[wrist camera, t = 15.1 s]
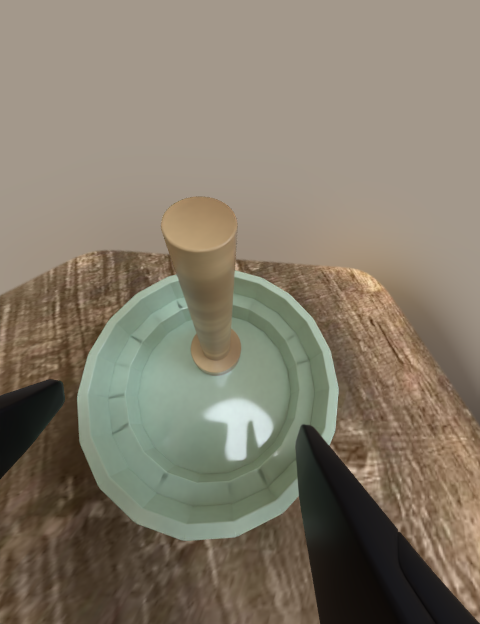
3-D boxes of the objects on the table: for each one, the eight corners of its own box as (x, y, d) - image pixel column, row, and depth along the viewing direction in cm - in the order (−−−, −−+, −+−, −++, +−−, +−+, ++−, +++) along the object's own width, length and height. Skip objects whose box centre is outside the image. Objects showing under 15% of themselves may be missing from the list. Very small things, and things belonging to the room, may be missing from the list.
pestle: (222, 386, 18) (213, 308, 5) (183, 357, 19) (94, 231, 6) (249, 346, 19) (292, 212, 7) (212, 321, 20) (190, 161, 8)
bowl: (241, 559, 14) (249, 636, 9) (76, 410, 17) (15, 407, 12) (336, 361, 20) (373, 342, 15) (201, 276, 23) (194, 237, 18)
